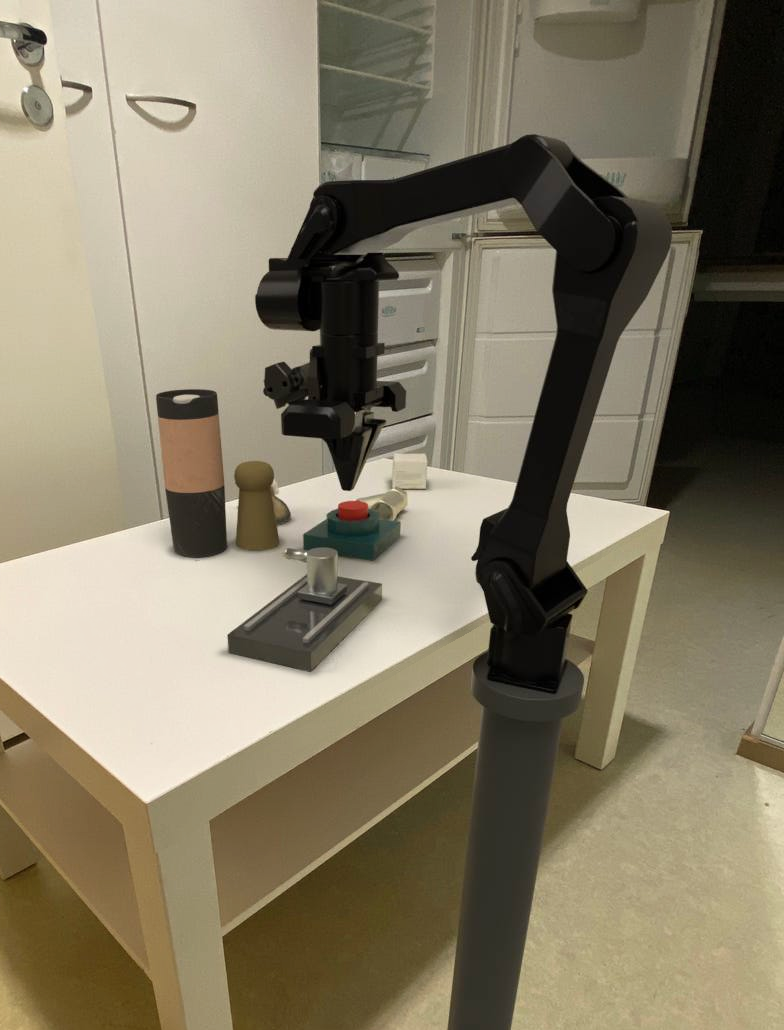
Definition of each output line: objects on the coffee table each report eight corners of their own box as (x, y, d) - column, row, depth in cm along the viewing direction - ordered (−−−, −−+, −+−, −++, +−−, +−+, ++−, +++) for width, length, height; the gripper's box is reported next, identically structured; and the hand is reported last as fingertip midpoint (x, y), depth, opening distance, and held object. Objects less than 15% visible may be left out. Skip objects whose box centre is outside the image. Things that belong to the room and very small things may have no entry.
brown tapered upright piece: (263, 553, 96) (259, 470, 91) (226, 545, 99) (220, 464, 94) (288, 540, 100) (285, 460, 95) (252, 533, 103) (248, 455, 98)
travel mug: (205, 535, 103) (192, 387, 94) (240, 547, 98) (230, 392, 89) (160, 549, 98) (142, 394, 89) (194, 562, 93) (179, 400, 84)
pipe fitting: (349, 526, 106) (393, 527, 104) (347, 499, 105) (392, 500, 102) (365, 510, 113) (408, 511, 110) (364, 485, 111) (407, 486, 109)
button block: (400, 537, 100) (401, 509, 99) (373, 560, 92) (373, 530, 91) (334, 528, 104) (334, 500, 103) (303, 549, 97) (302, 520, 95)
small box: (424, 480, 126) (426, 452, 124) (426, 489, 121) (428, 460, 119) (391, 480, 127) (392, 452, 125) (392, 489, 122) (393, 460, 120)
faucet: (347, 591, 78) (347, 549, 76) (331, 605, 75) (331, 561, 73) (293, 581, 81) (292, 540, 79) (275, 594, 78) (274, 552, 76)
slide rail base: (382, 599, 81) (382, 579, 80) (311, 671, 67) (310, 648, 66) (310, 587, 85) (309, 567, 84) (228, 652, 71) (226, 629, 70)
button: (372, 515, 98) (372, 502, 97) (361, 523, 94) (361, 510, 94) (345, 511, 99) (345, 499, 98) (333, 520, 96) (333, 507, 95)
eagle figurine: (224, 506, 111) (245, 510, 103) (242, 463, 111) (265, 464, 103) (265, 526, 115) (289, 532, 107) (283, 485, 115) (308, 487, 107)
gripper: (316, 325, 82) (318, 464, 89) (228, 340, 67) (238, 504, 74) (410, 326, 77) (404, 472, 84) (338, 342, 63) (337, 517, 70)
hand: (347, 490), depth 78 cm, fingers closed
